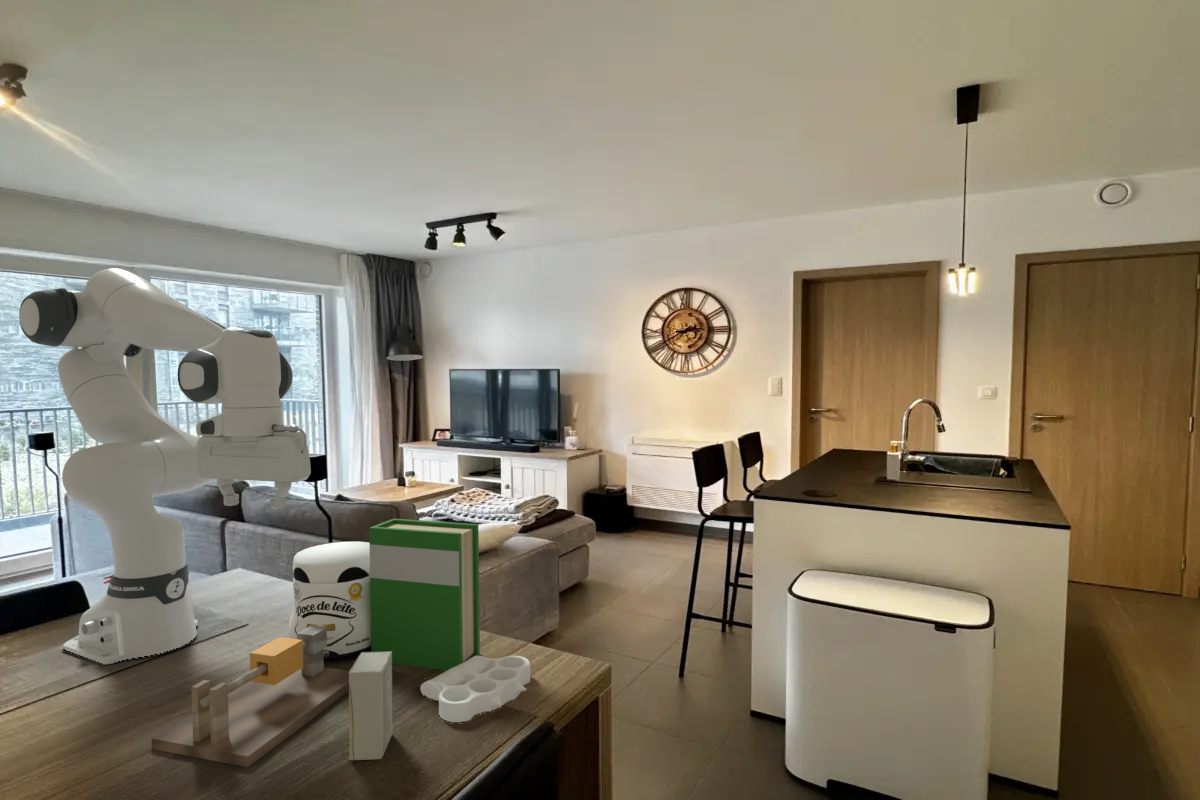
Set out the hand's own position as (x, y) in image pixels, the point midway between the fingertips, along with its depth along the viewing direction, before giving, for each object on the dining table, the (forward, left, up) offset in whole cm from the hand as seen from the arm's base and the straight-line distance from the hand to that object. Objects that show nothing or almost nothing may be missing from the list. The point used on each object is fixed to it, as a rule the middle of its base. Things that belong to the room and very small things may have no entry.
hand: (254, 506), depth 107 cm
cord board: (+10, -9, -29) cm, 32 cm away
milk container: (+5, +14, -29) cm, 33 cm away
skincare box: (+31, -13, -29) cm, 45 cm away
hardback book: (+23, +14, -29) cm, 40 cm away
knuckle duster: (+39, +5, -30) cm, 49 cm away
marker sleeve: (+10, -7, -24) cm, 27 cm away
